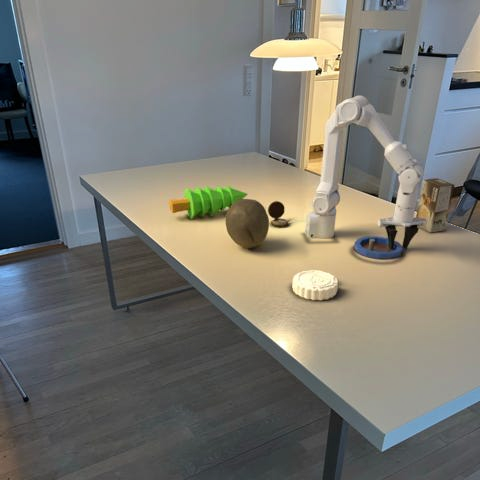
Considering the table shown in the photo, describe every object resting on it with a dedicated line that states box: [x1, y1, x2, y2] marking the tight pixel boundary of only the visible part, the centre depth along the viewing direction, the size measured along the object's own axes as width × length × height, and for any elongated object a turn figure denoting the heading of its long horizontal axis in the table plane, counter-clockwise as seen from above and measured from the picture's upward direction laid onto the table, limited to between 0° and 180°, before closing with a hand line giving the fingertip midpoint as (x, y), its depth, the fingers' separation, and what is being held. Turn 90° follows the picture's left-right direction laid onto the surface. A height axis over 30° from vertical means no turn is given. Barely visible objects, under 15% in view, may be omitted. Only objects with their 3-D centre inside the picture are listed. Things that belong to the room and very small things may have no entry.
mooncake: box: [291, 269, 339, 301], centre depth 130 cm, size 12×12×4 cm
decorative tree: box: [168, 185, 249, 220], centre depth 179 cm, size 11×12×30 cm
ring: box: [353, 235, 404, 260], centre depth 152 cm, size 14×14×2 cm
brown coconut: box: [225, 198, 270, 249], centre depth 153 cm, size 14×14×15 cm
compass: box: [267, 200, 294, 228], centre depth 173 cm, size 8×8×7 cm
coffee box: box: [415, 177, 455, 233], centre depth 169 cm, size 9×6×16 cm
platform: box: [352, 239, 404, 261], centre depth 152 cm, size 15×15×4 cm
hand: (397, 248), depth 152 cm, fingers open, 4 cm apart
